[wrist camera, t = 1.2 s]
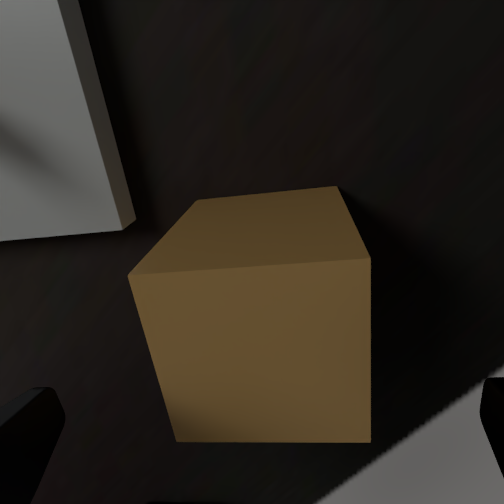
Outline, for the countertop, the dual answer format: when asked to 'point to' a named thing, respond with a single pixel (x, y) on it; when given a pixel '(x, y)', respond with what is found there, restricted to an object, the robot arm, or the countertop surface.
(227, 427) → the cardboard carton
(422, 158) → the countertop surface
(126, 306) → the countertop surface
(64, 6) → the post plate
